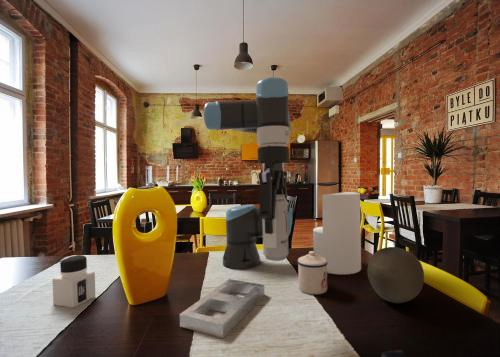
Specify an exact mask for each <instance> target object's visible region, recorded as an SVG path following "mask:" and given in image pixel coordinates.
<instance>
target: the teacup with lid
mask: <svg viewBox="0 0 500 357" xmlns="http://www.w3.org/2000/svg"><path fill="white" fill-rule="evenodd" d="M327 264H328V263H327V260H326V259H325V258H323V257H320V256H318V255H316V254H315V252H314V250H311V251H310V250H309V252H308V254H305V255H302V256H300V257H299V258H298V259H297V267H298V268H297V269H298V289H299V290H300V292H302V293H304V294H308V295H321V294H325V293H327V291H328V273H327Z"/></svg>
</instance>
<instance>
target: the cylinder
mask: <svg viewBox="0 0 500 357" xmlns="http://www.w3.org/2000/svg"><path fill="white" fill-rule="evenodd" d="M321 197H322V199H321V202H322V204H321V205H322V206H321V210H322V212H321V213H322V215H321V216H322V226H317V227H314V228H313V229H312V230H313V231H312V232H313V233H312V234H313V251H314V252H315V254H316V255H318V256H320V257H323V258H325V259H326V260H327V263H328V264H327V274H334V275H351V274H352V275H353V274H357V273H358V272H359V273H360V271H361V270H362V246H361V242H362V240H361V238H362V236H361V234H362V233H361V228H362V227H361V194H360V192H352V191H346V192H344V191H343V192H337V193H336V192H335V193H326V194H322V195H321Z"/></svg>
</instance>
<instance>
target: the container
mask: <svg viewBox="0 0 500 357" xmlns="http://www.w3.org/2000/svg"><path fill="white" fill-rule="evenodd" d="M59 264H60V275H58V276H55V277H53V278H52V303H53V305H54V306H58V307H59V306H60V307H65V308H69V309H73V308H76V307H78V306H80V305H82V304H84V303H86V302H88V301H90V300H92V299H94V298H95V297H96V273H95V271H90V270H88V267H87V266H88V259H87V256H85V255H83V254H82V255H81V254H76V255H70V256H65V257H64V258H62V259H61V260H60V262H59Z"/></svg>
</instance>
